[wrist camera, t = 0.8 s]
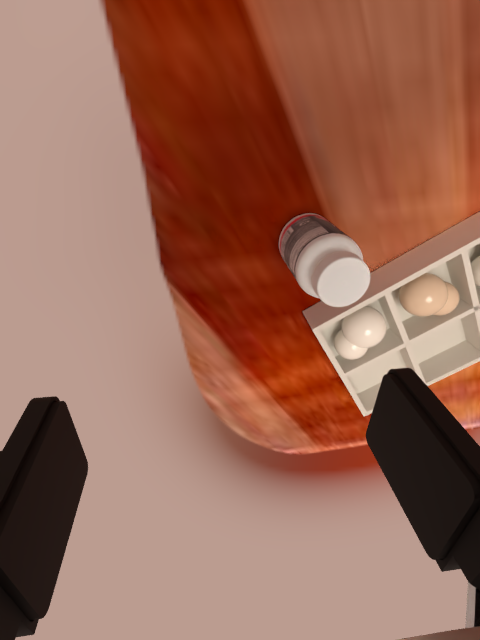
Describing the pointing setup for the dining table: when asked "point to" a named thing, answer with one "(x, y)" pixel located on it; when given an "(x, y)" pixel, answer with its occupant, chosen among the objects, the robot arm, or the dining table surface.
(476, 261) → the cream egg
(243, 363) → the dining table surface
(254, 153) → the dining table surface
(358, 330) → the cream egg
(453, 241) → the grey compartment tray
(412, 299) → the brown egg
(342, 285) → the pill bottle
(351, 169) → the dining table surface
